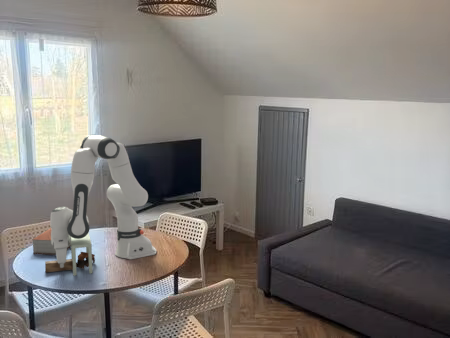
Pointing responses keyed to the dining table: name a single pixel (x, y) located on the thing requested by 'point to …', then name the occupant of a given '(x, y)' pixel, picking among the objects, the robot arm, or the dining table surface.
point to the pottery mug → (81, 262)
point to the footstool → (80, 244)
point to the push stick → (58, 265)
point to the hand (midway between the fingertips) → (61, 265)
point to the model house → (45, 244)
